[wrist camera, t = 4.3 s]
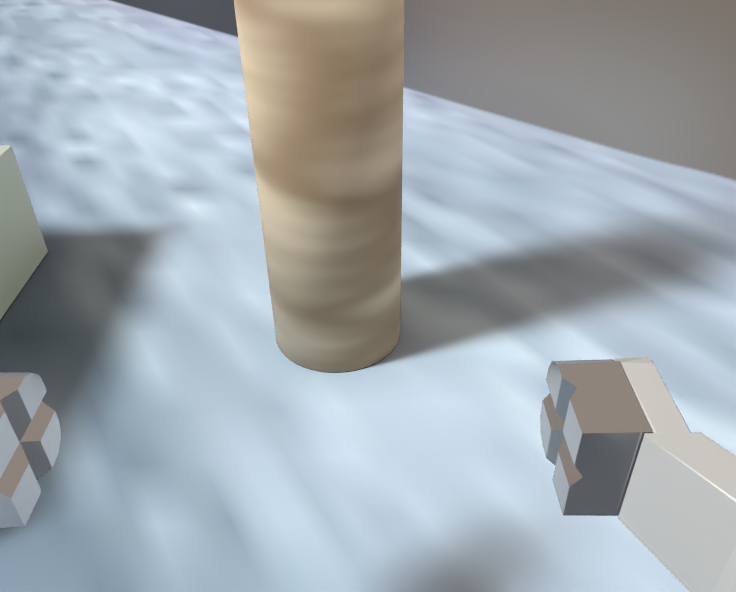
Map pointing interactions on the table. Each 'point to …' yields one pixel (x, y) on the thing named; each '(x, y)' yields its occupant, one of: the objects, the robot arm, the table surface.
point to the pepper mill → (328, 171)
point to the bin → (16, 231)
